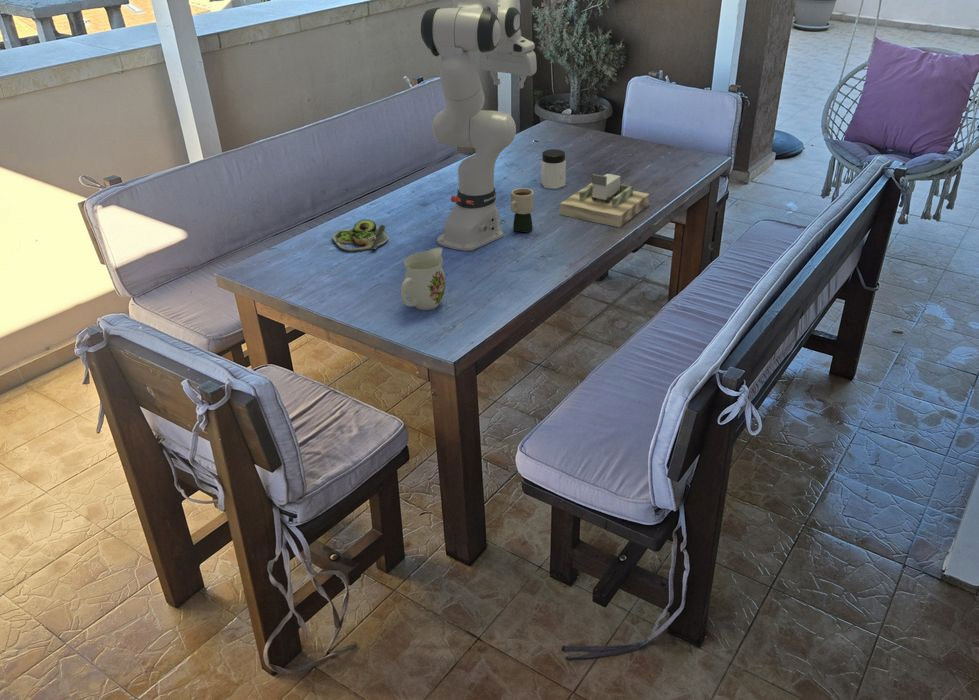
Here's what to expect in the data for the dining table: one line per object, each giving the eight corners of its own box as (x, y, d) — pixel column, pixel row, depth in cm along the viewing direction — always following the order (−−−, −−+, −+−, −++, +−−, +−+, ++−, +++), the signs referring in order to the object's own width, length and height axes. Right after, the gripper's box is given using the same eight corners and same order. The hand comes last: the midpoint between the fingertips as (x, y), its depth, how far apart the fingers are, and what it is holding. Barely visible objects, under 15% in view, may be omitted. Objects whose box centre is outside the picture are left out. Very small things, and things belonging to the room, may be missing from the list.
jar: (553, 191, 301) (553, 158, 295) (536, 185, 306) (536, 153, 300) (570, 184, 306) (570, 152, 300) (553, 179, 312) (553, 147, 305)
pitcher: (388, 315, 227) (383, 269, 220) (427, 288, 240) (424, 243, 233) (421, 325, 222) (417, 278, 215) (459, 296, 235) (457, 251, 228)
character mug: (524, 222, 278) (524, 184, 271) (542, 227, 274) (541, 189, 267) (503, 232, 271) (502, 194, 264) (520, 238, 267) (520, 199, 260)
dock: (619, 227, 272) (620, 207, 268) (560, 214, 282) (560, 194, 279) (648, 205, 287) (650, 185, 283) (591, 193, 298) (591, 174, 294)
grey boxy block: (605, 205, 278) (607, 177, 273) (589, 201, 281) (590, 174, 276) (620, 194, 285) (622, 167, 280) (605, 191, 288) (606, 164, 283)
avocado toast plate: (399, 248, 264) (398, 235, 262) (344, 260, 259) (342, 246, 256) (382, 227, 280) (380, 213, 277) (329, 237, 274) (327, 223, 272)
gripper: (475, 42, 279) (477, 84, 286) (528, 48, 269) (529, 91, 276) (486, 38, 283) (488, 80, 290) (539, 44, 273) (539, 87, 280)
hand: (508, 86), depth 283 cm, fingers open, 8 cm apart
